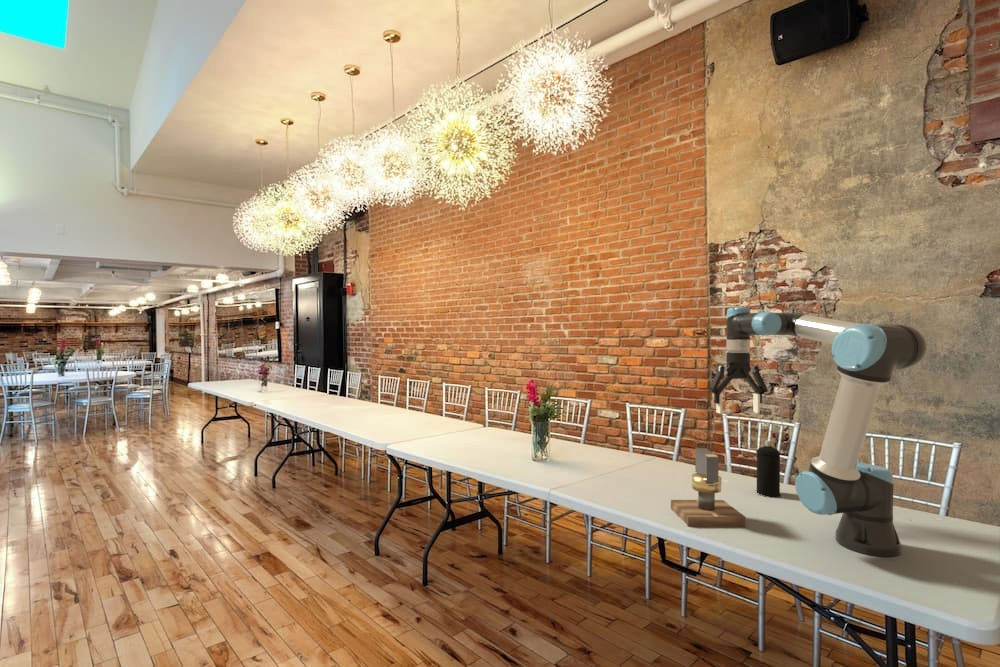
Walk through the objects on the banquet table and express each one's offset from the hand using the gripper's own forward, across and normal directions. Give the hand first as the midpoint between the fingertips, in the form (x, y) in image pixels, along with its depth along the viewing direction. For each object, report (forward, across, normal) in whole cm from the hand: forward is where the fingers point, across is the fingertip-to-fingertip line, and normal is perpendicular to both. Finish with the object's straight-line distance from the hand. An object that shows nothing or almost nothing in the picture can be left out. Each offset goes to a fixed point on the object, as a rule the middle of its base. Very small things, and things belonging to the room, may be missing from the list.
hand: (738, 412), depth 177 cm
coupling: (+23, -16, -9) cm, 30 cm away
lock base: (+33, -16, -9) cm, 37 cm away
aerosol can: (+33, +19, +12) cm, 40 cm away
